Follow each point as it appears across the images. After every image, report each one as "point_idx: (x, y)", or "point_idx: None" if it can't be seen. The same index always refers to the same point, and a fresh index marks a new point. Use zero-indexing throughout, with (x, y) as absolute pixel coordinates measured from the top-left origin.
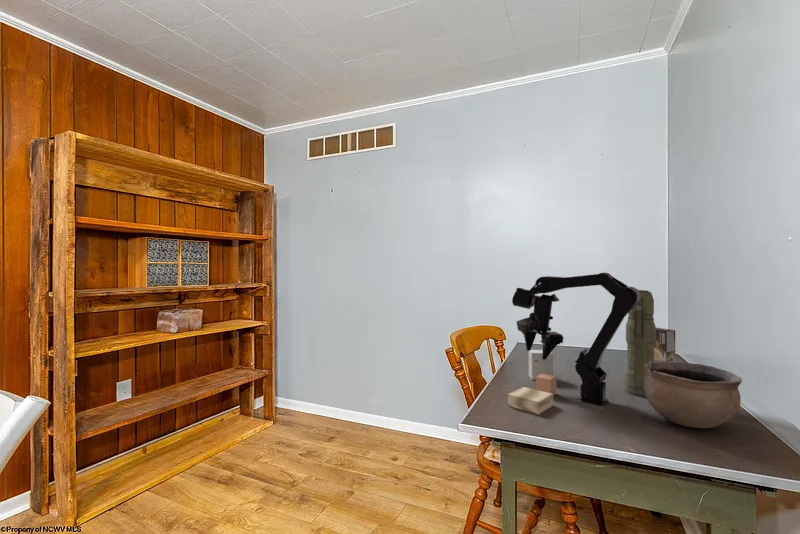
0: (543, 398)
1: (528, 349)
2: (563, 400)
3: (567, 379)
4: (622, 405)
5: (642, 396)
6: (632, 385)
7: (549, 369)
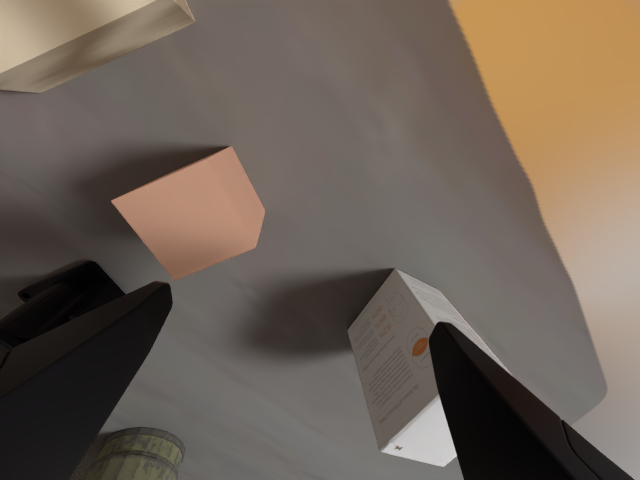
0: None
1: (439, 338)
2: None
3: (333, 373)
4: None
5: (108, 437)
6: (114, 462)
7: (365, 355)
